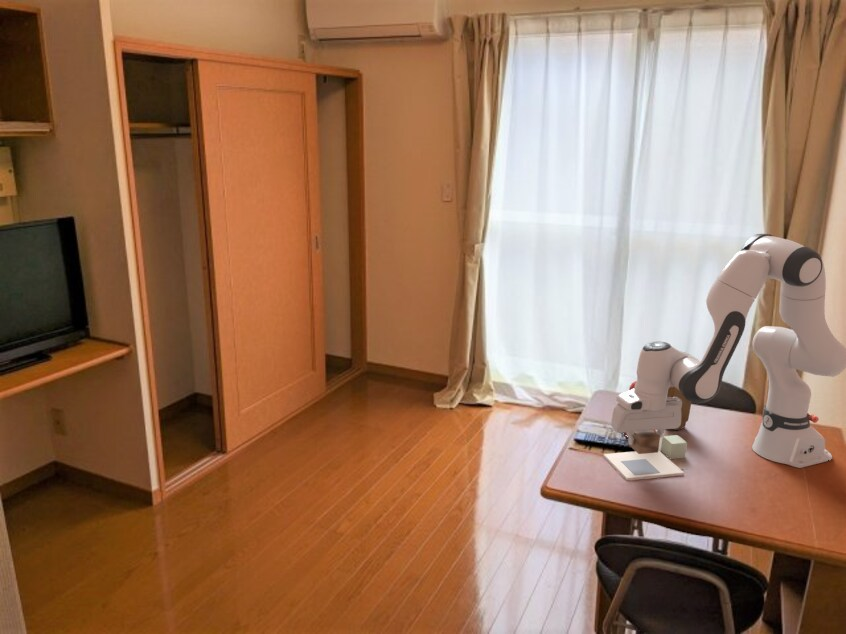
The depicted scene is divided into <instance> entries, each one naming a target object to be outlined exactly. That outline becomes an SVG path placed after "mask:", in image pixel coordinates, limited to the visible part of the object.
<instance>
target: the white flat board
mask: <svg viewBox="0 0 846 634" xmlns="http://www.w3.org/2000/svg"><path fill="white" fill-rule="evenodd" d="M602 456H603V459H605V460H606V461H607V463H609V464H610V466H612V468H614V469H615V471H617V472H618V473H619V475H621V477H623V478H624V480H625V481H627V482H628V481H637V480H638V481H639V480H647V479H656V478H658V479H659V478H666V477H669V478H670V477H675V476H677V477H678V476H684V475H685V472H684V471H683V470H682V469H681V468H680V467H678V466H677V465H676V464H675V463H674V462H673V461H672V460H671V459H670V458H668V457H667V456H666V455H665V454H664V453H663V452H662V451H661V450H659V449H658V452H656V453H645V454H638V453H637V452H636V451H635V450H634V451H625V452H613V453H603V455H602Z"/></svg>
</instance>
